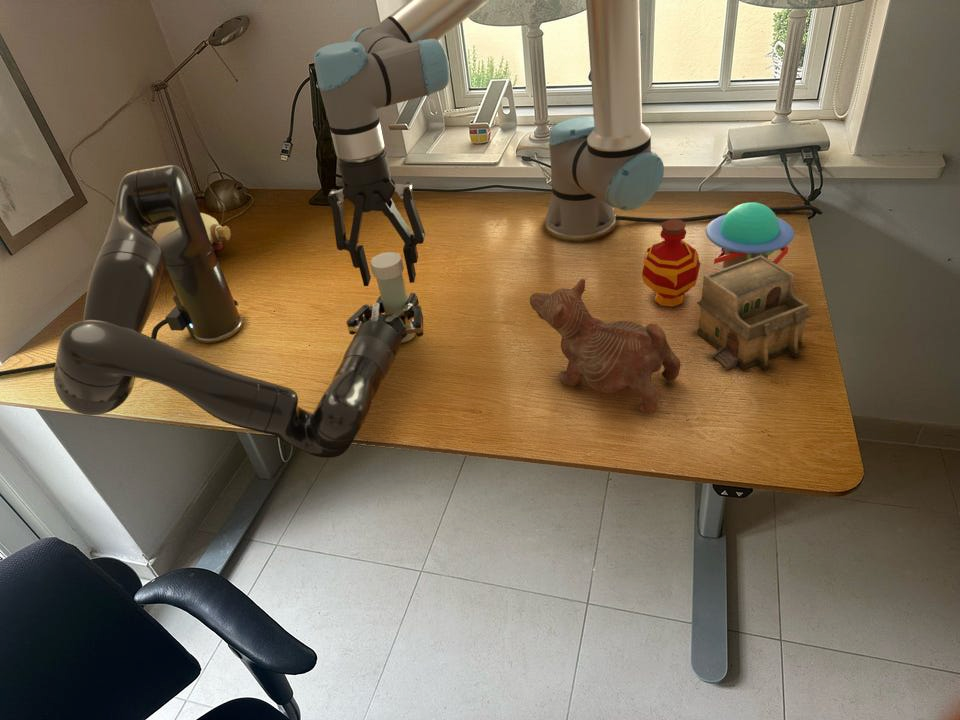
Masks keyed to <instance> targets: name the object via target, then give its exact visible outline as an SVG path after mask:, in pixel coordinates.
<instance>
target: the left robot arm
mask: <svg viewBox="0 0 960 720" xmlns="http://www.w3.org/2000/svg"><path fill="white" fill-rule="evenodd" d="M200 213H201V211H200V209H199V206H198V202H197V199H196V197H195V193H194V191H193V188H192V185H191V183H190V180H189V178H188V176H187V175H186V173H185V171H184V170H183V169H182V168H181V167H180V166H179V165H177V164H169V165H163V166H155V167H150V168H144V169H140V170H133V171H131V172H128V173H127V174H125V175H124V176H123V177H122V179H121V181H120V183H119V186H118V190H117V193H116V199H115V203H114V210H113V215H112V218H111V221H110V224H109V227H108V230H107V233H106V236H105V238H104V241H103V244H102V246H101V248H100V250H99V252H98V254H97V257H96V259H95V261H94V265H93V267H92V271H91V274H90V278H89V283H88V286H87V292H86V297H85V305H84V312H83V317H82V319H83V320H80V321H77V322H74V323H72V324H71V325H69V326H68V327H67V328H66V329H64V331H63V332H62V334H61V336H60V339H59V341H58V346H57V352H56V357H55V358H56V359H55V362H49V363H44V364H38V365H32V366H31V365H30V366H25V367H20V368H11V369H7V370H1V371H0V377H4V376H12V375H18V374H24V373H30V372H35V371H41V370H42V371H43V370H46V369H53V368H54V372H53V384H54V387H55V391H56V394H57V396H58V397H59V399H60V401H61V402H62V403H63V404H64V406H66V407H67V408H68V409H69V410H71V411H73V412H76V413H77V414H80V415H84V416H100V415H104V414H106V413H109V412H112V411H114V410H115V409H117V408H119V407H120V406H121V405H123V403H125V401H126V400H127V399H128V397H130V395H131V393H132V391H133V389H134V386H135V381H136V378H137V379H142V380H147V381H151V382H155V383H158V384H160V385H163V386H166V387H167V388H170V389H172V390H173V391H175V392H176V393H178V394H181V395H183V396H184V397H185V398H187V399H188V400H189V401H191V402H192V403H194V404H195V405H196V406H198V407H199V408H200V409H202V410H203V411H205V412H206V413H208V414H209V415H211V416H212V417H214V418H215V419H217V420H219V421H221V422H224V423H225V424H228V425H232V426H233V427H238V428H243V429H245V430H249V431H250V430H251V431H254V432H258V433H263V434H267V435H271V436H274V437H276V438H278V439H279V440H281V441H283V442H285V443H286V444H287V445H290V446H292V447H294V448H296V449H298V450H301V451H303V452H304V453H306V454H308V455H311V456H314V457H317V458H324V459H329V458H331V459H332V458H336V457H340V456H342V455H343V454H344V453H346V451H347V450H348V449H349V447H350V446H351V445H352V443H353V442H354V440H355V439H356V437H357V435H358V434H359V432H360V431H361V429H362V427H363V425H364V423H365V421H366V419H367V417H368V415H369V413H370V410H371V407H372V403H373V400H374V398H376V395H377V393H378V391H379V388H380V386H381V384H382V382H383V381H384V379H385V378H386V377H387V375H388V373H389V372H390V369H391V367H392V365H393V363H394V361H395V359H396V356H397V354H398V352H399V350H400V347H401V345H402V343H401V341H402V340H403V339H404V338H405V337H406V336H407V334H412V333H415V336H416V337H418V338H419V337H422V336H424V316H423V310H422V306H421V305H420V303H419V302H420V301H419V298H418V295H416V292H410V294H409V296H408V300H407V302H406V305H405V306H404V307H403V308H402V309H398V310H397V311H396V312H395V313H393V314H391V315H386V314H385V312H384V307H383V303H382V299H381V295H380V294H379V296H378V297H377V299H376V301H375V302H374V303H373V304H372V305H370V306H369V304H363V305H362V306H361V307H360V308H359V309H357V311H356V312H354V313H353V314H352V315H351V316H350V317H349V318H348V319H347V320H346V326H347V330H348V333H349V335H350V336H353V335H354V336H353V338H352V340H351V342H350V343H349V345H348V347H347V349H346V350H345V352H344V354H343V357H342V361H341V362H340V364H339V367H337V369H336V371H335V373H334V375H333V378H332V380H331V383H330V384H329V386H328V387H327V389H326V390H325V392H324V393H323V395H322V397H321V398H320V400H319V401H318V403H317V405H316V406H315V408H314V409H313V410H314V411H313V412H310V411H307V410H305V409H303V408H302V407H300V406H299V396H298V393H297V392H296V391H295V390H294V389H292V388H290V387H288V386H285V385H282V384H277V383H273V382H270V381H267V380H263V379H259V378H255V377H252V376H249V375H245V374H242V373H238V372H234V371H232V370H229V369H225V368H223V367H220V366H218V365H215V364H213V363H210V362H209V361H207V360H203V359H201V358H199V357H196V356H194V355H192V354H190V353H188V352H186V351H183V350H181V349H179V348H176V347H174V346H172V345H170V344H167V343H165V342H162V341H160V340H158V339H157V337H158V332H159V330H160V329H161V328H162V327H164V326H166V325H167V324H168V326H169V328H170V330H171V331H177V332H178V331H181V332H183V331H184V330H185V329H186V330H187V332H188V334H189V336H190V338H191V339H195V340H196V341H198V342H199V343H204V344H214V343H215V344H216V343H219V342H222V341H226V340H229V339H230V338H232V337H233V336H235V335H236V334H238V332H240V331H241V329H242V327H243V325H244V321H243V318H242V316H241V314H240V312H239V310H238V307H239V303H238V300H236V299H234V297H233V295H232V292H231V290H230V287H229V285H228V283H227V280H226V278H225V274H224V272H223V270H222V268H221V265H220V263H219V260H218V258H217V256H216V253H215V251H214V250H213V248H212V247H213V244H212V245H211V243H210V240H209V238H208V234H207V231H206V228H205V225H204V222H203V219H202V217H201V214H200ZM172 221H177V222H178V224H179V228H177V229H176V230H174V231H173V232H171V233H169V234H167V235H166V236H164V237H163V238H162V239H161V240H160V241H159V242H158V243H157V242H156V241H155V240H154V239H153V237H152V236H153V235H151V234H149V232H148V231H147V229H148V228H150V227H151V226H154V225H159V224H160V223H166V222H172ZM165 274H166V277H167V278H168V280H169V282H170V285H171V287H172V289H173V291H174V293H175V294H174V295H173V296H172V300H173V301H174V304H175V306H174V307H173V308H172V309H171V310H170V311H169V313H168V314H167V315H165V316H164V318H165V319H162V320H161V321H159V322H158V323H157V324H156V325H155V326H154V327H153V328H152V331H151V336H149V335H146V334H145V333H143V330H144V328H145V326H146V324H147V322H148V320H149V318H150V315H151V313H152V310H153V308H154V306H155V303H156V301H157V297H158V294H159V292H160V289H161V286H162V283H163V280H164V275H165ZM411 320H412V323H410V325H409V326H408V324H409V322H410V321H411ZM407 326H408V327H407Z"/></svg>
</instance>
